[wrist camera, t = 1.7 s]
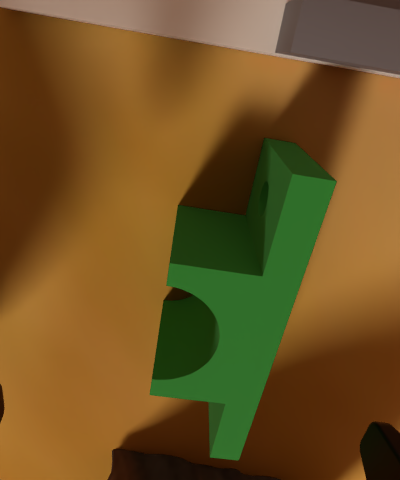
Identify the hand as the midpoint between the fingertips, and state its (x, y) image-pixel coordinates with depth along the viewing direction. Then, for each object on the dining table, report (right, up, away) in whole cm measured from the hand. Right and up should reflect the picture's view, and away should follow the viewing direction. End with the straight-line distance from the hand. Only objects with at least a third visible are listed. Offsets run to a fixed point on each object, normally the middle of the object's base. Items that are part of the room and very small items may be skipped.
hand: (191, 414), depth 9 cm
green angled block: (+1, +3, +7) cm, 7 cm away
